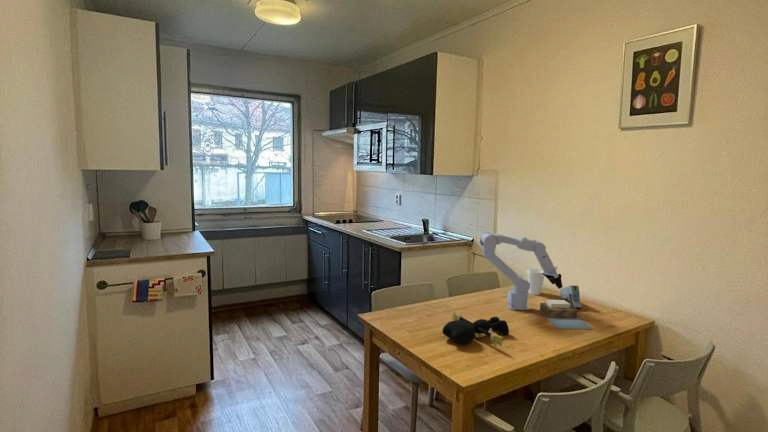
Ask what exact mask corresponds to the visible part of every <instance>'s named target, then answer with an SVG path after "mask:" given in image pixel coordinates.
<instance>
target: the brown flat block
mask: <svg viewBox="0 0 768 432" xmlns="http://www.w3.org/2000/svg"><path fill="white" fill-rule="evenodd" d="M539 305H540V308H539V311H540V312H541V313H542V314H543V315H544V316H545V318H578V310H579V309H575V308H574V307H572V306H571V304H570V308H551V307H550V306H548V305H547V304H546V302H540V304H539Z"/></svg>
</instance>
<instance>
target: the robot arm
mask: <svg viewBox="0 0 768 432" xmlns="http://www.w3.org/2000/svg"><path fill="white" fill-rule="evenodd" d="M479 244H480V247H481V251H482V255H483V257H484V258H485V259H486V260H488V262H490V263H491V264H492V265H494V266H495V267H496V268H497V270H498V271H500V272H501V274H503V275H504V276H505V277H507V278H508V279H509V280H510V281H511V283H512V285H513V289H512V290H508V291H507V298H506V299H507V300H506V303H507V304H506V306H507V307H508V308H509V309H510V310H511V311H530V310H531V308H529V307H528V298H529V289H530V283H529V282H528V280H526V279H525V278H524V277H523V276H522V275H519V274H518V273H516V272H515V270H513V269H512V268H511V267H510V266H509V265H508V264H506V263H505V262H504V260H502V259H501V258H500V257H499V256H498V255H496V254H495V249H496V246H497V245H500V244H507V245H512V246H516V247H517V249H518V250H523V251H526V252H533V253H534V255H535V258H536V259H537V261H538V263H539V266H540V267H541V270H543V271H544V273H543V275H544V277H545V278H546V279H547V280H548V281H549V282H550V283H551V285H555V287H557V289H559V290H561V289H563V288H564V286H563V282H562V273H558V272H557V269H558V266H556V265H554V263H553V262H552V259H551V258H550V256H549V253H548V252H547V250H546V249H547V247H546V245H545V244H544V243H542V242H540V241H539V240H536V239H529V238H527V237H525V236H523V237H519V238H514V237H511V236H507V235H503V234H501V233H500V234H499V233H494V232H491V233H490V232H487V231H486V232H482V233H481V234H480V238H479Z"/></svg>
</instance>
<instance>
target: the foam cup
mask: <svg viewBox="0 0 768 432" xmlns="http://www.w3.org/2000/svg"><path fill="white" fill-rule="evenodd" d="M526 273H527V274H526V275H527V281H528V282H529V283H530V289H529V290H528V294H530V295H535V296H536V295H537V296H538V295H541V294H542V288H543V285H544V279H545V276H544V275H543V273H544V271H543V269H539V268H528V269H527V271H526Z"/></svg>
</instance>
